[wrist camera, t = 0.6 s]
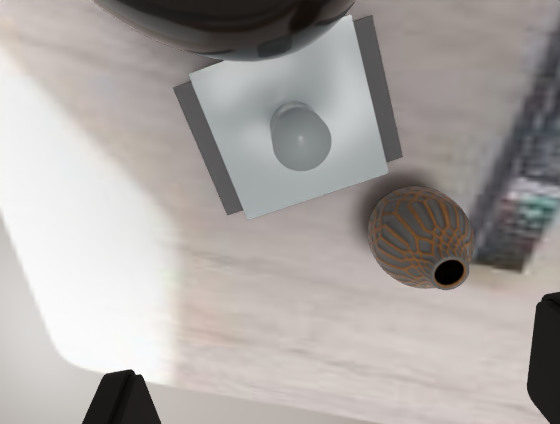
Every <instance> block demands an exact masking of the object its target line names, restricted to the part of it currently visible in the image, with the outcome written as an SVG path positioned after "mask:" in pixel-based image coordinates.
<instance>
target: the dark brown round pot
mask: <svg viewBox="0 0 560 424" xmlns="http://www.w3.org/2000/svg"><path fill="white" fill-rule="evenodd" d="M92 1H93V2H94V3H96V4H97V5H98V6H99V7H101V8H102V9H103V10H104V11H106V12H107V13H108V14H110V15H111V16H113V17H114V18H116V19H117V20H119V21H121V22H122V23H124V24H125V25H127V26H128V27H130V28H132V29H134V30H135V31H137V32H139V33H141V34H143V35H145V36H147V37H149V38H151V39H153V40H155V41H158V42H160V43H163V44H165V45H168V46H171V47H173V48H176V49H178V50H181V51H185V52H189V53H192V54H196V55H200V56H204V57H208V58H213V59H219V60H226V61H233V62H257V61H263V60H270V59H276V58H280V57H283V56H286V55H289V54H292V53H295V52H298V51H299V50H301V49H303V48H305V47H307V46H309V45H311V44H312V43H314V42H315V41H317V40H318V39H319V38H320V37H322V36H323V35H324V34H326V33H327V32H328V31H329V30H330V29H331V28H332V27H333V26H334V25H335V24H336V23H337V22H338V21H339V20H340V19H341V18H342V17H343V16H344V15H345V14H346V13H347V11H348V10H349V9H350V8H351V6H352V5H353V4H354V3H355V1H356V0H92Z"/></svg>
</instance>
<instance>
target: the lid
mask: <svg viewBox="0 0 560 424" xmlns="http://www.w3.org/2000/svg"><path fill="white" fill-rule="evenodd" d="M188 75H189V78H190V80H191V82H192V85H193V87H194V90H195V92H196V95H197V97H198V100H199V102H200V105H201V107H202V109H203V112H204V114H205V117H206V119H207V122H208V124H209V127H210V129H211V131H212V134H213V136H214V139H215V141H216V144H217V146H218V149H219V151H220V154H221V156H222V158H223V161H224V163H225V166H226V168H227V171H228V173H229V176H230V178H231V181H232V183H233V185H234V188H235V190H236V193H237V195H238V198H239V200H240V203H241V205H242V208H243V210H244V212H245V215H246V217H247V220H250V219H253V218H256V217H259V216H262V215H265V214H268V213H271V212H274V211H277V210H280V209H283V208H286V207H289V206H292V205H295V204H298V203H301V202H304V201H307V200H310V199H313V198H316V197H319V196H322V195H325V194H328V193H331V192H334V191H337V190H340V189H343V188H346V187H349V186H352V185H355V184H358V183H361V182H364V181H367V180H370V179H373V178H376V177H379V176H382V175H385V174H388V173H389V172H388V168H387V164H386V159H385V155H384V151H383V147H382V142H381V138H380V134H379V130H378V125H377V121H376V117H375V113H374V108H373V104H372V100H371V96H370V91H369V87H368V83H367V79H366V75H365V70H364V66H363V62H362V58H361V53H360V49H359V45H358V41H357V36H356V32H355V28H354V24H353V19H352V15H351V14H350V15H347V16H345V17H342V18H341V19H340V20H339V21H338V22H337V23H336V24H335V25H334V26H333V27H332V28H331V29H330V30H329V31H328V32H327V33H326V34H324V35H323V36H322V37H320V38H319V39H318V40H317V41H315V42H314V43H312V44H311V45H309V46H307V47H305V48H303V49H301V50H299V51H298V52H295V53H292V54H289V55H286V56H283V57H280V58H276V59H270V60H263V61H257V62H233V61H226V60H225V61H222V62H220V63H217V64H214V65H211V66H209V67H206V68H203V69H201V70H198V71H195V72H192V73H190V74H188Z"/></svg>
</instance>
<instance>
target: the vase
mask: <svg viewBox="0 0 560 424" xmlns="http://www.w3.org/2000/svg"><path fill="white" fill-rule="evenodd" d="M368 241H369V245H370V248H371V251H372V253H373V255H374V257H375V259H376V261H377V262H378V264H379V265H380V266H381V267H382V269H383V270H384V271H385V272H386V273H388V274H389V275H390V276H391V277H393V278H394V279H396V280H397V281H399V282H401V283H403V284H405V285H408V286H411V287H415V288H424V289H427V288H438V289H442V290H450V289H454V288H456V287H458V286H460V285H461V284H462V283H463V282H464V281H465V280H466V278H467V277H468V274H469V263H470V261H471V258H472V255H473V251H474V235H473V231H472V227H471V224H470V222H469V220H468V218H467V216H466V214H465V213H464V212H463V210H462V209H461V208H460V206H459V205H458V204H457V203H455V202H454V201H453V200H452V199H451V198H449V197H448V196H446V195H445V194H443V193H441V192H439V191H437V190H434V189H431V188H427V187H420V186H410V187H404V188H400V189H397V190H395V191H392V192H391V193H389V194H387V195H386V196H385V197H383V198H382V199H381V200H380V201H379V202H378V204H377V205H376V206H375V208H374V210H373V211H372V214H371V216H370V219H369V223H368Z"/></svg>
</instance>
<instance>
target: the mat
mask: <svg viewBox="0 0 560 424" xmlns="http://www.w3.org/2000/svg"><path fill="white" fill-rule="evenodd" d="M353 24H354V28H355V32H356V36H357V41H358V45H359V49H360V53H361V58H362V62H363V66H364V70H365V75H366V79H367V83H368V87H369V91H370V96H371V100H372V104H373V108H374V113H375V117H376V121H377V125H378V130H379V134H380V138H381V142H382V147H383V151H384V155H385V159H386V162H389V161H392V160H395V159H398V158H401V157H403V156H402V151H401V147H400V142H399V138H398V133H397V128H396V124H395V119H394V115H393V110H392V105H391V101H390V96H389V92H388V87H387V82H386V78H385V73H384V69H383V64H382V59H381V55H380V50H379V45H378V41H377V36H376V32H375V27H374V22H373V18H372V15H371V16H368V17H366V18H363V19H360V20H357V21H355V22H353ZM173 89H174V91H175V94H176V96H177V98H178V101H179V103H180V106H181V108H182V110H183V113H184V115H185V117H186V120H187V122H188V124H189V127H190V129H191V131H192V134H193V136H194V138H195V141H196V143H197V145H198V148H199V150H200V152H201V155H202V157H203V159H204V162H205V164H206V166H207V169H208V171H209V173H210V176H211V178H212V180H213V183H214V185H215V187H216V190H217V192H218V194H219V197H220V199H221V201H222V204H223V206H224V208H225V211H226V213H227V215H230V214H233V213H236V212H239V211H242V210H243V208H242V205H241V203H240V200H239V198H238V195H237V193H236V190H235V188H234V185H233V183H232V181H231V178H230V176H229V173H228V171H227V168H226V166H225V163H224V161H223V158H222V156H221V154H220V151H219V149H218V146H217V144H216V141H215V139H214V136H213V134H212V131H211V129H210V127H209V124H208V122H207V119H206V117H205V114H204V112H203V109H202V107H201V105H200V102H199V100H198V97H197V95H196V92H195V90H194V87H193V85H192V82H188V83H185V84H183V85H180V86H177V87H174V88H173Z"/></svg>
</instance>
